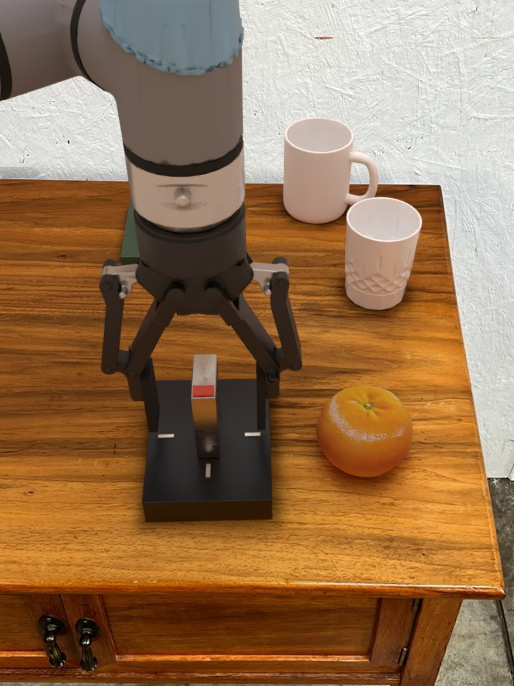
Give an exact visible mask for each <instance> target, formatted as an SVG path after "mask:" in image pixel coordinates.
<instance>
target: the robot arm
mask: <svg viewBox="0 0 514 686" xmlns="http://www.w3.org/2000/svg"><path fill="white" fill-rule="evenodd" d="M244 38H245V28H244V26H243V18H242V17H241V9H240V0H0V102H3V101H7V100H10V99H13V98H16V97H19V96H23V95H26V94H29V93H31V92H35V91H37V90H41V89H43V88H46V87H49V86H52V85H55V84H58V83H62V82H65V81H68V80H70V79H73V78H77V77H82V78H83V79H85V80H86V81H88V82H90V83H91V84H93V85H94V86H96V87H97V88H99V89H101V90H102V91H103V92H105V93H109V94H110V95H112V97H113V98H114V101H115V105H116V110H117V116H118V117H117V118H118V122H119V126H120V127H119V128H120V132H121V139H122V147H123V153H124V160H125V167H126V174H127V181H128V187H129V195H130V197H131V201H132V204H133V206H134V214H133V215H134V221H135V228H136V235H137V241H138V248H139V255H140V257H139V259H138V260H137V264H131V265H123V266H122V265H120V263H119V262H118V261H117V260H116V259H112V258H108V259H105V260H104V261H103V263H102V268H101V273H100V277H99V283H98V288H99V291H100V294H101V296H102V299H103V301H104V304H105V312H104V324H103V325H104V326H103V335H102V336H103V337H102V349H101V361H100V371H101V372H102V373H103V374H104V375H108V376H111V375H115V373H119V374H122V375H124V376H125V378H126V381H127V386H128V392H129V396H130V399H131V400H132V402H143V407H144V411H145V417H146V422H147V427H148V433H149V432H158V425H159V414H160V405H159V399H158V392H157V386H156V380H157V379H156V373H155V367H154V362H153V361H154V359H153V357H151V356H152V354H153V352H154V351H155V348H156V346H157V345H158V343H159V341H160V339H161V337H162V335H163V333H164V331H165V330H166V328H168V327H169V326H170V324H171V322H172V320H173V318H174V316H175V314H176V316H181V317H183V316H190V315H195V314H198V315H206V316H220V319H222V320H223V322H224V323H225V325H226V326H227V327H231V329H232V331H234V332H235V334H236V335H237V336H238V338H239V340H240V341H241V343H242V344H243V345H244V346H245V348H246V349H247V350H248V352H249V353H250V355H251V356H252V358H253V359H254V361H255V371H256V372H255V379H256V390H257V430H266V399H269V400H270V399H272V400H273V399H278V397H279V396H280V384H281V383H280V381H281V373H282V372H284V371H287V370H289V371H291V372H298V371H300V370H302V369H303V356H302V344H301V340H300V335H299V332H298V328H297V323H296V320H295V316H294V311H293V308H292V304H291V301H290V296H289V289H290V285H291V284H290V268H289V261H288V258H286V257H284V256H277V257H275V258H274V259H273V260H272V262H271V263H269V262H267V263H266V262H257V261H254V260H253V258H252V257H251V256H250V254H249V252H248V250H247V215H246V214H247V213H246V204H245V197H246V177H245V176H246V173H245V172H246V171H245V170H246V169H245V141H244V135H243V134H244V100H243V98H244V97H243V96H244V95H243V92H244V91H243V90H244V89H243V44H244ZM252 281H253V282H256V283H257V284H258V285H259V289H260V291H261V292H262V293H263V294H264V296H266V297H269V304H270V310H271V313H272V317H273V322H274V324H275V328H276V331H277V336H278V339H279V342H280V345H281V347H278V346H277V345H276V343H275V342H274V340H273V338H272V337H271V336H270V334H269V333H268V331H267V330H266V328H265V327H264V325H263V324H262V322H261V321H260V320H259V318H258V316H257V315H256V313H255V312H254V310H253V309H252V308H251V305H250V304H249V303H248V301H247V300H246V298H245V296H244V293H243V292H244V291H245V290H246V288H248V286H249V285H250V284H251V283H252ZM136 283H138V285H139V286H141V287H142V288H143V289H144V291H146V292H147V293H148V294H149V295H150V296H151V297H153V300H152V302H151V304H150V305H149V308H148V310H147V312H146V314H145V316H144V318H143V320H142V322H141V324H140V325H139V328H138V330H137V332H136V333H135V336H134V338H133V340H132V342H131V344H128V349H127V350H125V349H121V348H120V347H121V337H122V329H123V319H124V311H125V310H124V309H125V300H126V298H127V296H129V295H130V294H131V293H132V291H133V285H135V284H136Z"/></svg>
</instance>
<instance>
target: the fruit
mask: <svg viewBox="0 0 514 686" xmlns="http://www.w3.org/2000/svg"><path fill="white" fill-rule="evenodd" d="M413 426H414V425H413V419H412V417H411V414H410V412H409V410H408V409H407V407H406V406H405V404H404V403H403V402H402V400H401V399H400V398H399V397H398V396H397V395H396V394H394V393H393V392H392V391H390V390H387V389H385V388H382V387H378V386H375V385H374V386H373V385H366V384H359V385H353V386H349V387H346V388H344V389H341V390H339V391H337V392H336V393H335V394H333V395H332V396H331V397H330V398H329V399H328V400H327V402H326V403H325V404H324V406H323V407H322V409H321V411H320V413H319V416H318V419H317V423H316V427H315V434H316V439H317V440H316V441H317V444H318V446H319V448H320V449H321V451H322V453H323V454H324V456H325V457H326V458H327V460H328V461H329V463H330V464H331V465H333V466H334V467H335V468H337V469H339V470H341V471H342V472H344V473H346V474H349V475H350V476H354V477H355V476H356V477H359V478H360V477H361V478H374V477H378V476H381V475H383V474H385V473H387V472H388V471H390V470H392V469H393V468H395V467H396V466H398V465H399V464H400V463H402V462H403V461H404V459H405V458H406V457H407V455H408V453H409V452H410V448H411V447H412V441H413V436H414V427H413Z"/></svg>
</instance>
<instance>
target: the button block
mask: <svg viewBox="0 0 514 686" xmlns="http://www.w3.org/2000/svg"><path fill="white" fill-rule="evenodd" d="M133 214H134V206H133V204H132V201H131V196H130V197H129V204H128V209H127V215H126V219H125V220H126V221H125V226H124V233H123V238H122V243H121V244H122V245H121V251H120V256H119V258H120V264H121V266H123V265H131V264H137V260H138V259H139V257H140V255H139V248H138V241H137V235H136V228H135V221H134V215H133Z"/></svg>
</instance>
